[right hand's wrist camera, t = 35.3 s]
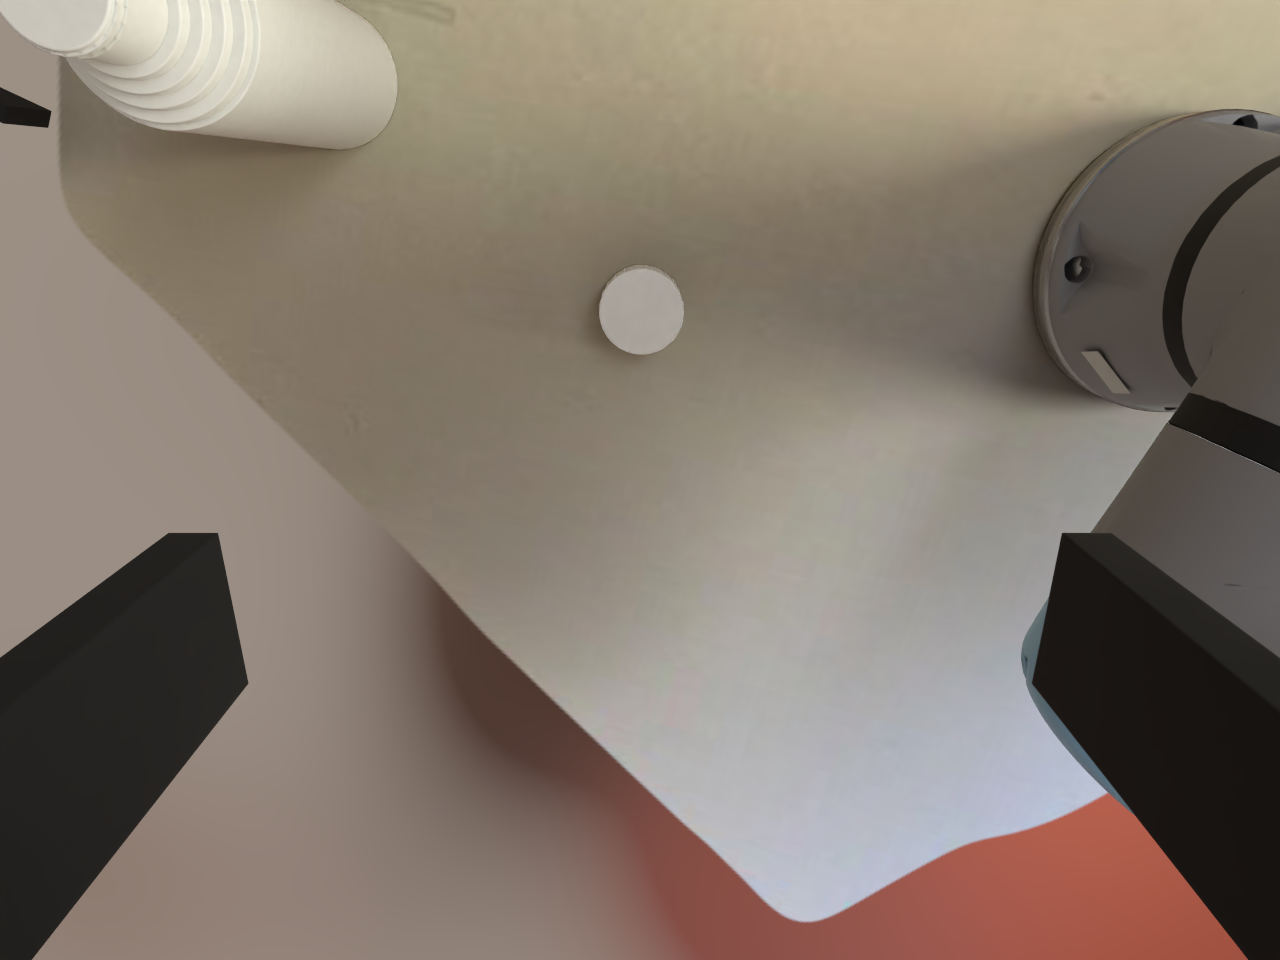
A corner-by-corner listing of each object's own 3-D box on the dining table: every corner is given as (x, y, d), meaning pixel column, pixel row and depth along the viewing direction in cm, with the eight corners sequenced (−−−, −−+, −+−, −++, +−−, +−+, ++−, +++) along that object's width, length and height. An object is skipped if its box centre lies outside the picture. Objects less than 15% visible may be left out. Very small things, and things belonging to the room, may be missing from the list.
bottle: (330, 176, 42) (64, 170, 22) (238, 63, 40) (-139, -50, 20) (424, 94, 40) (227, 11, 21) (333, -27, 38) (25, -240, 19)
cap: (684, 264, 43) (686, 268, 41) (681, 348, 45) (683, 356, 43) (600, 262, 43) (598, 266, 41) (600, 346, 45) (598, 355, 42)
